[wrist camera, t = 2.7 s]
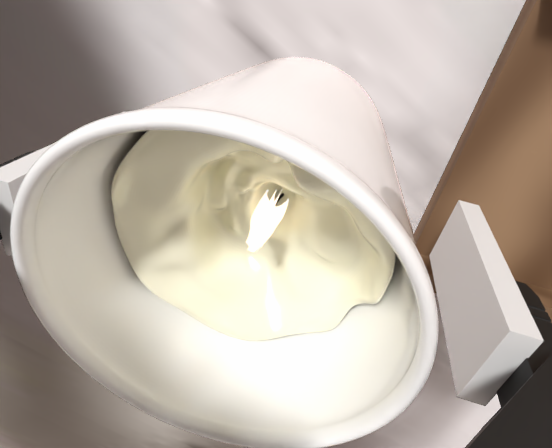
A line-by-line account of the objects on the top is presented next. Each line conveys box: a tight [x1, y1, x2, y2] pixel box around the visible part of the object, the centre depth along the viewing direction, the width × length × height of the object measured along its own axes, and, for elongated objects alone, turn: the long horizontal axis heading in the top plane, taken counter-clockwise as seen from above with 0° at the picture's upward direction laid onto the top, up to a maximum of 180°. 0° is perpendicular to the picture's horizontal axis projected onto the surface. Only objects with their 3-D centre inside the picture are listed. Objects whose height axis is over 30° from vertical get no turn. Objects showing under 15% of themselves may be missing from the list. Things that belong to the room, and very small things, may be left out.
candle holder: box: [10, 57, 438, 448], centre depth 13 cm, size 10×10×12 cm
